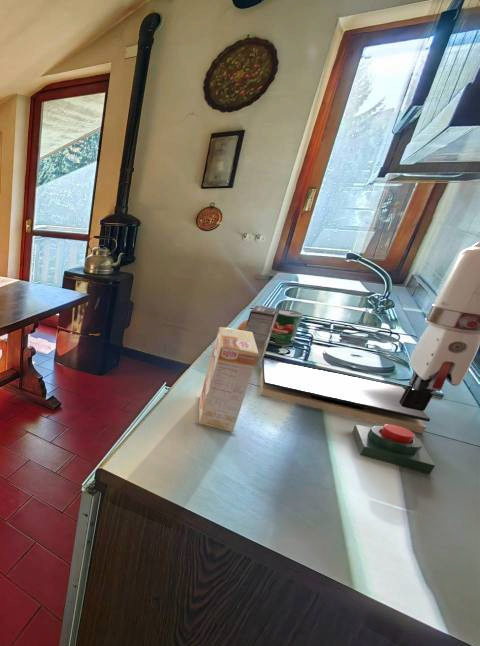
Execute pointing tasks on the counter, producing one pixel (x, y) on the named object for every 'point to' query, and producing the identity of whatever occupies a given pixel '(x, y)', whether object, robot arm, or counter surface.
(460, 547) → the counter surface
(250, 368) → the coffeecake box
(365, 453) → the switch box
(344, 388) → the laptop screen
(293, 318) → the canned tomato
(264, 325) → the coffee box
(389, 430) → the button
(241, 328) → the egg
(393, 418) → the laptop
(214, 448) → the counter surface
